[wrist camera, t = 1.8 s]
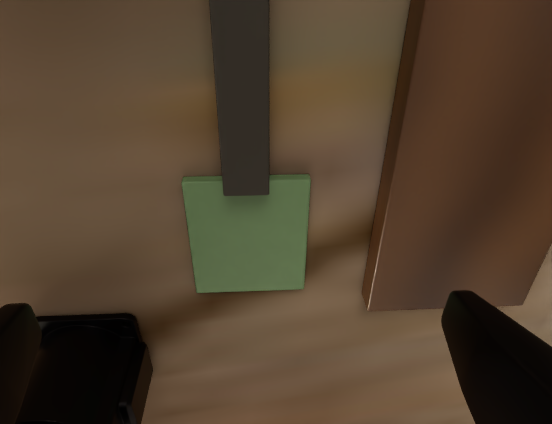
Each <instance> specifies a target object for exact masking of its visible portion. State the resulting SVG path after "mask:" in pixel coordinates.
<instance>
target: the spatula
mask: <svg viewBox="0 0 552 424" xmlns="http://www.w3.org/2000/svg"><path fill="white" fill-rule="evenodd" d="M209 6H210V19H211V33H212V47H213V60H214V74H215V88H216V101H217V115H218V129H219V142H220V156H221V170H222V176H194V177H183V179H182V190H183V198H184V205H185V212H186V220H187V227H188V235H189V242H190V249H191V257H192V264H193V271H194V279H195V286H196V292H197V293H209V292H238V291H266V290H295V289H304V282H305V266H306V250H307V233H308V217H309V201H310V185H311V179H310V176H309V174H293V175H269V0H209Z"/></svg>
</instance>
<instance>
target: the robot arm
mask: <svg viewBox="0 0 552 424" xmlns="http://www.w3.org/2000/svg"><path fill="white" fill-rule="evenodd" d="M441 323H442V328H443V331H444V335H445V338H446V341H447V344H448V348H449V351H450V354H451V357H452V361H453V364H454V367H455V371H456V374H457V377H458V380H459V384H460V386H461V389H462V392H463V395H464V397H465V400H466V402H467V405H468V407H469V410H470V412H471V414H472V417H473V419H474V421H475V424H552V347H551V346H550V345H548V344H547V343H545V342H544V341H543V340H541V339H540V338H538V337H537V336H536V335H534V334H533V333H531V332H530V331H528V330H527V329H526V328H524V327H523V326H521V325H520V324H518V323H517V322H516V321H514V320H513V319H511V318H510V317H508V316H507V315H506V314H504V313H503V312H501V311H500V310H498V309H497V308H496V307H494V306H493V305H491V304H490V303H489V302H487V301H486V300H484V299H483V298H481V297H480V296H479V295H477V294H476V293H474V292H473V291H470V290H454V291H452V292H451V293H450V294H449V296H448V299H447V302H446V305H445V308H444V311H443V314H442V319H441ZM152 372H153V368H152V364H151V360H150V356H149V352H148V348H147V345H146V344H145V343H144V342H142V339H141V335H140V331H139V328H138V324H137V320H136V318H135V316H133V315H132V314H128V313H120V314H93V315H66V316H40V317H36V316H35V314H34V312H33V310H32V308H31V306H30V305H29V304H26V303H15V304H6V305H4V306H3V307H1V308H0V424H141V421H142V416H143V412H144V408H145V403H146V399H147V394H148V390H149V385H150V381H151V376H152Z"/></svg>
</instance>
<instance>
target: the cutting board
mask: <svg viewBox="0 0 552 424" xmlns="http://www.w3.org/2000/svg"><path fill="white" fill-rule="evenodd" d="M551 244H552V0H411V3H410V9H409V15H408V21H407V27H406V33H405V39H404V45H403V51H402V57H401V63H400V69H399V75H398V81H397V87H396V93H395V98H394V104H393V110H392V116H391V122H390V128H389V134H388V140H387V146H386V152H385V158H384V164H383V170H382V176H381V182H380V188H379V194H378V199H377V205H376V211H375V217H374V223H373V229H372V235H371V241H370V247H369V253H368V259H367V265H366V271H365V277H364V283H363V289H362V295H363V298H364V301H365V304H366V307H367V310H368V311H389V310H415V309H441V308H445V305H446V302H447V299H448V296H449V294H450V293H451V292H452V291H454V290H470V291H473V292H474V293H476V294H477V295H479V296H480V297H481V298H483V299H484V300H486V301H487V302H489V303H490V304H491V305H493V306H519V305H523V303H524V301H525V299H526V297H527V294H528V292H529V290H530V288H531V286H532V284H533V282H534V280H535V278H536V275H537V273H538V271H539V269H540V267H541V265H542V263H543V261H544V259H545V257H546V254H547V252H548V250H549V248H550V246H551Z"/></svg>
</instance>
